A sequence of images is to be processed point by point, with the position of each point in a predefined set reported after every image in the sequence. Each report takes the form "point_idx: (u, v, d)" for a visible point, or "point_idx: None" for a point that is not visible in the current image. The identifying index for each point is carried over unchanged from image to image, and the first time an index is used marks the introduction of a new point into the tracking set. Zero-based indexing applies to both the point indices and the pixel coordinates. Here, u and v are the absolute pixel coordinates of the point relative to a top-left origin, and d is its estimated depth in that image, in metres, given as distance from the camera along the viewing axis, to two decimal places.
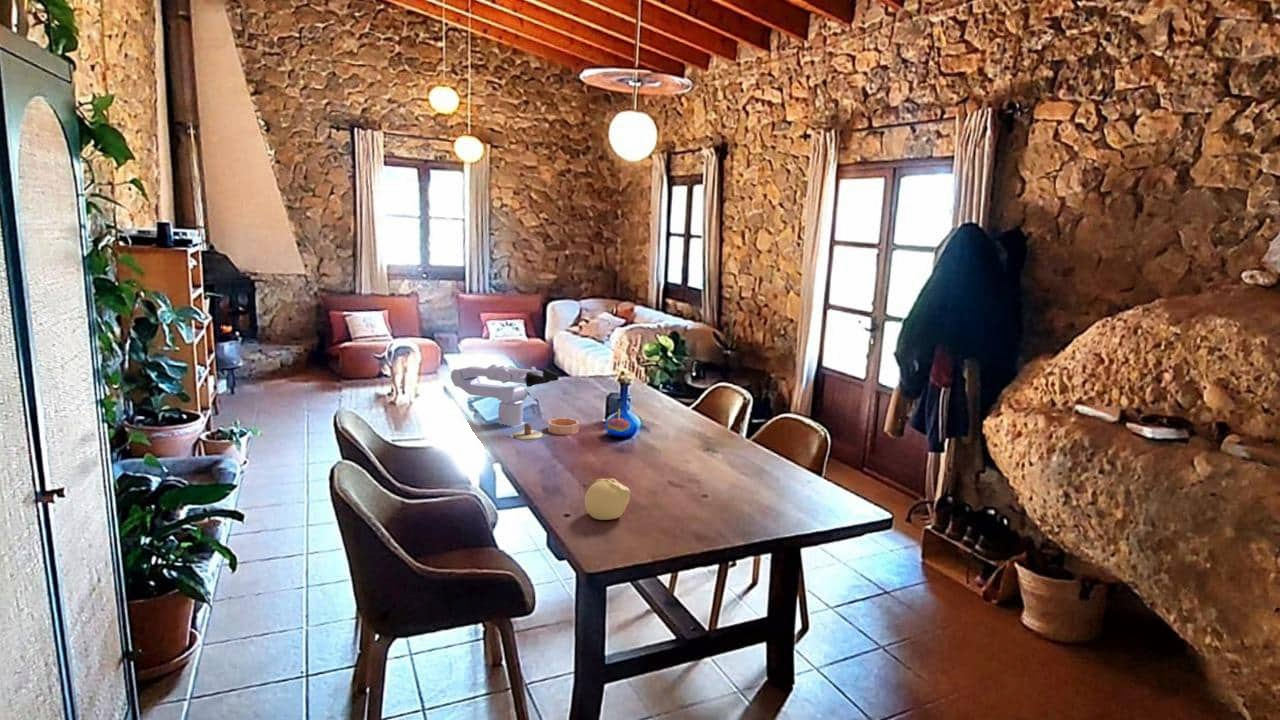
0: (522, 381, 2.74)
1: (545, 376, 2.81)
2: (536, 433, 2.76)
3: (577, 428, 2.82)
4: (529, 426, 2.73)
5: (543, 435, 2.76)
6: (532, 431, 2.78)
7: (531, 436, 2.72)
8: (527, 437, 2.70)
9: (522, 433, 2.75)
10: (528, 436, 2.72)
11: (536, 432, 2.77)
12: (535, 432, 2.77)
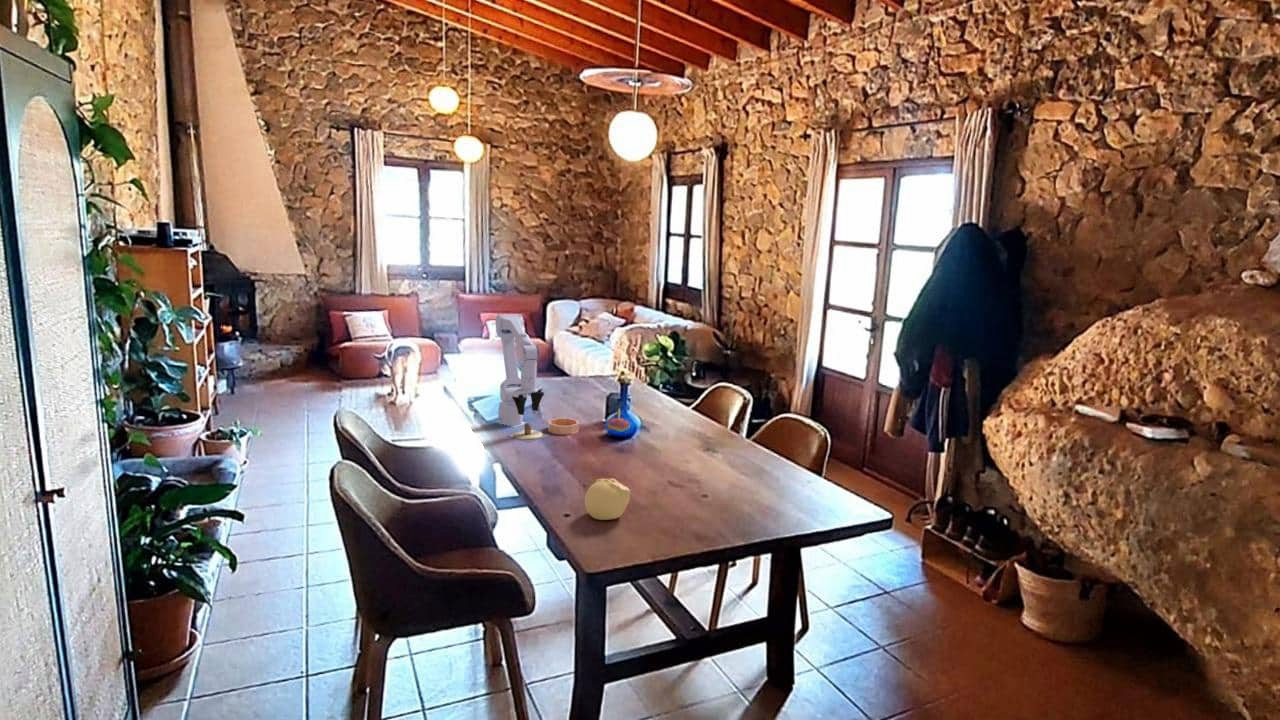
0: (513, 395, 2.66)
1: (534, 394, 2.75)
2: (536, 433, 2.76)
3: (577, 428, 2.82)
4: (529, 426, 2.73)
5: (543, 435, 2.76)
6: (532, 431, 2.78)
7: (531, 436, 2.72)
8: (527, 437, 2.70)
9: (522, 433, 2.75)
10: (528, 436, 2.72)
11: (536, 432, 2.77)
12: (535, 432, 2.77)
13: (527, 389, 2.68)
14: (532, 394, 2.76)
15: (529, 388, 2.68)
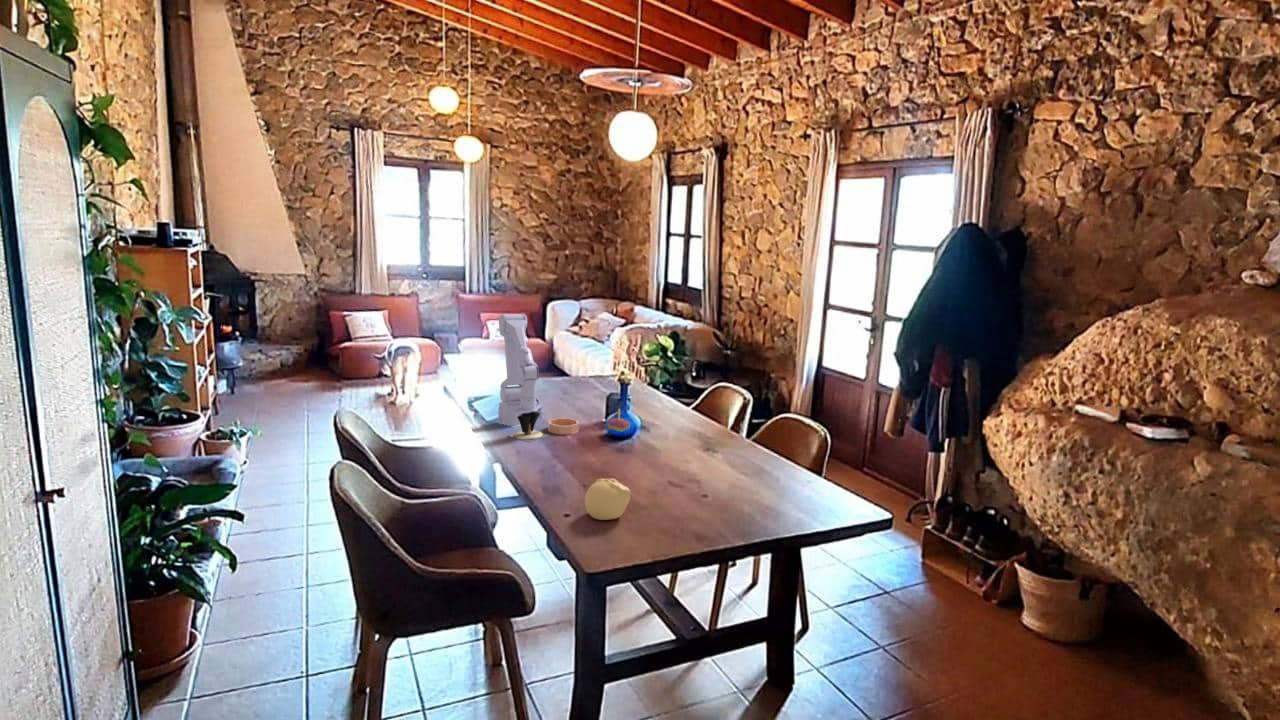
0: (513, 415, 2.67)
1: (530, 415, 2.74)
2: (536, 433, 2.76)
3: (577, 428, 2.82)
4: (529, 426, 2.73)
5: (543, 435, 2.76)
6: (532, 431, 2.78)
7: (531, 436, 2.72)
8: (527, 437, 2.70)
9: (522, 433, 2.75)
10: (528, 436, 2.72)
11: (536, 432, 2.77)
12: (535, 432, 2.77)
13: (527, 409, 2.70)
14: (527, 414, 2.75)
15: (529, 408, 2.70)
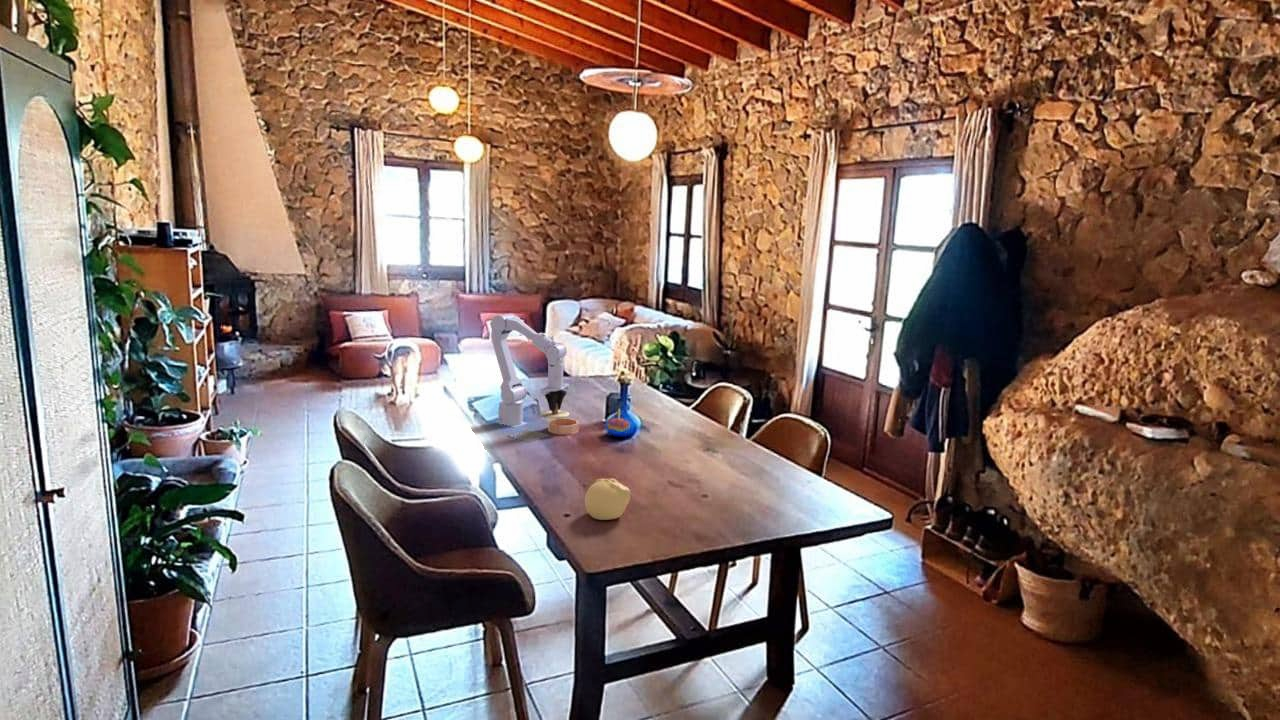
0: (541, 392, 2.73)
1: (557, 393, 2.80)
2: (563, 412, 2.82)
3: (577, 428, 2.82)
4: (556, 405, 2.79)
5: (543, 435, 2.76)
6: (558, 411, 2.84)
7: (559, 415, 2.78)
8: (555, 416, 2.76)
9: (549, 413, 2.80)
10: (556, 415, 2.77)
11: (562, 412, 2.83)
12: (561, 412, 2.83)
13: (554, 387, 2.75)
14: (555, 393, 2.81)
15: (556, 386, 2.75)
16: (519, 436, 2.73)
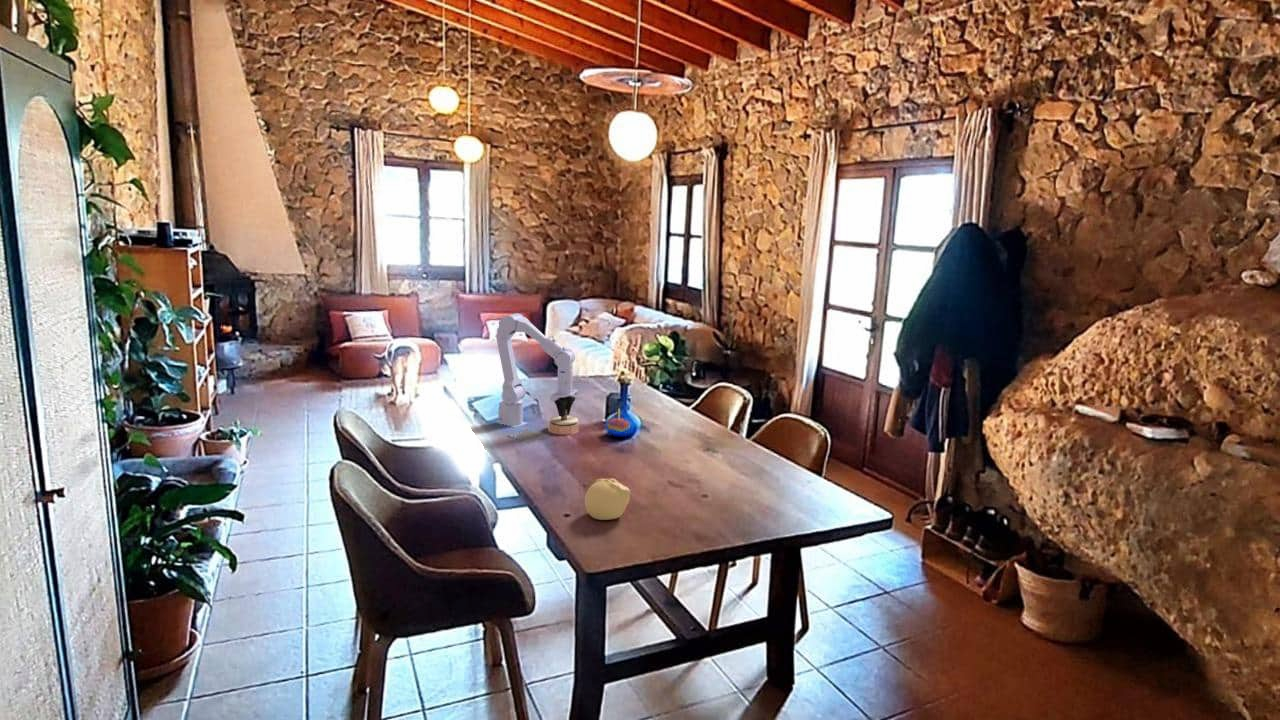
0: (551, 399, 2.76)
1: (566, 399, 2.83)
2: (572, 418, 2.85)
3: (577, 428, 2.82)
4: (566, 411, 2.82)
5: (543, 435, 2.76)
6: (567, 417, 2.87)
7: (568, 421, 2.81)
8: (565, 422, 2.79)
9: (558, 419, 2.84)
10: (566, 421, 2.80)
11: (571, 417, 2.86)
12: (570, 417, 2.86)
13: (564, 393, 2.78)
14: (564, 399, 2.84)
15: (565, 392, 2.79)
16: (519, 436, 2.73)
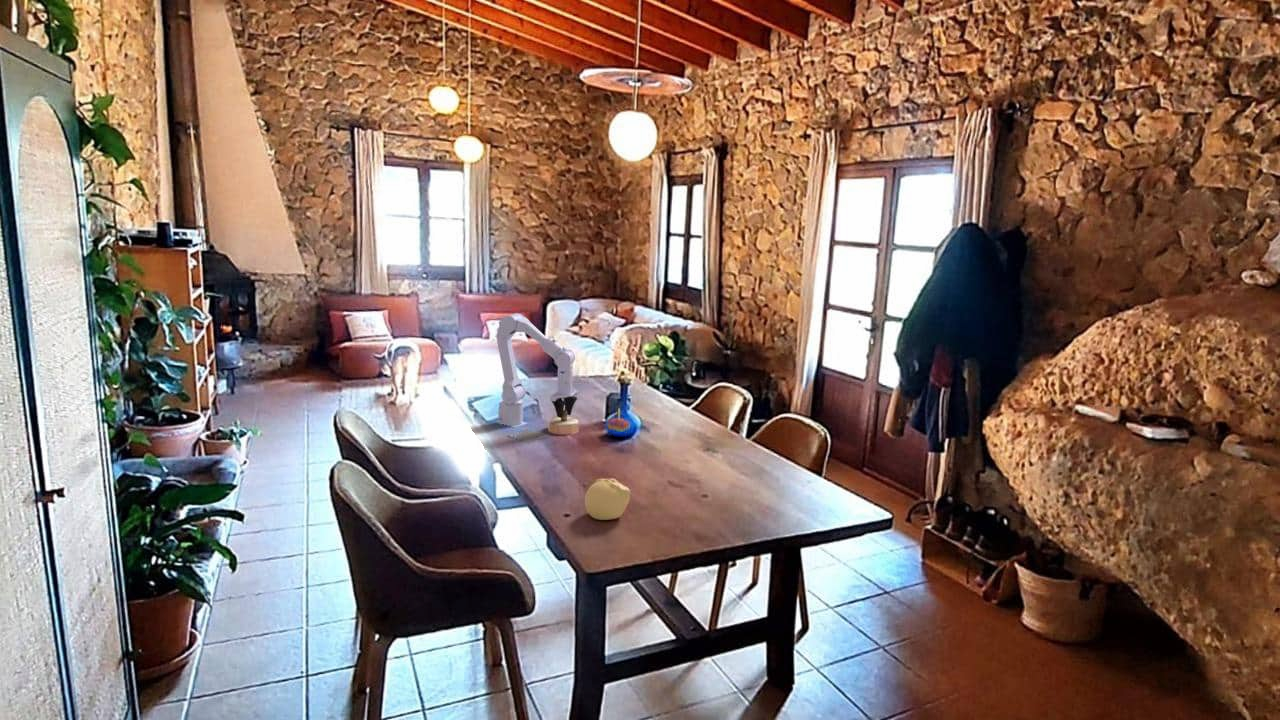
0: (551, 399, 2.76)
1: (568, 399, 2.84)
2: (572, 419, 2.85)
3: (577, 428, 2.82)
4: (566, 413, 2.82)
5: (543, 435, 2.76)
6: (567, 418, 2.87)
7: (568, 422, 2.81)
8: (565, 423, 2.79)
9: (558, 420, 2.84)
10: (565, 422, 2.81)
11: (571, 419, 2.86)
12: (570, 419, 2.86)
13: (563, 393, 2.79)
14: (565, 399, 2.85)
15: (565, 392, 2.79)
16: (519, 436, 2.73)
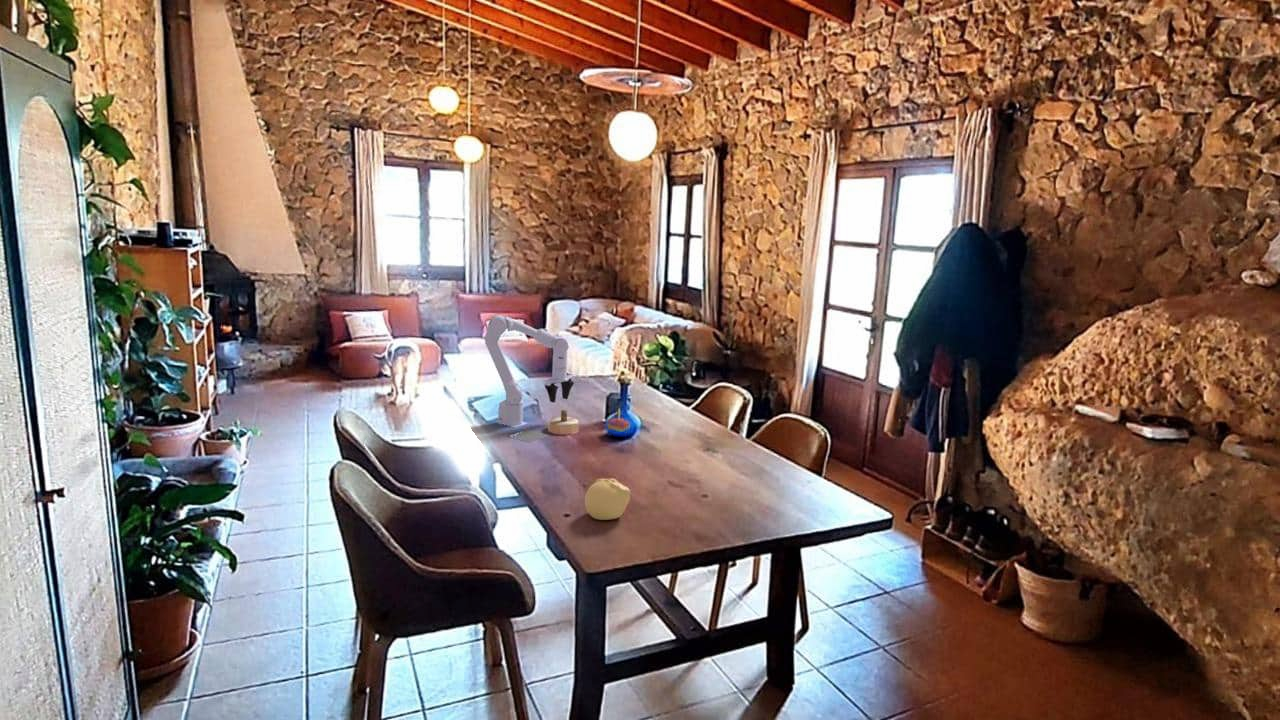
0: (546, 383, 2.84)
1: (565, 384, 2.93)
2: (572, 419, 2.85)
3: (577, 428, 2.82)
4: (566, 413, 2.82)
5: (543, 435, 2.76)
6: (567, 418, 2.87)
7: (568, 422, 2.81)
8: (565, 423, 2.79)
9: (558, 420, 2.84)
10: (565, 422, 2.81)
11: (571, 419, 2.86)
12: (570, 419, 2.86)
13: (558, 378, 2.86)
14: (562, 383, 2.94)
15: (560, 377, 2.86)
16: (519, 436, 2.73)
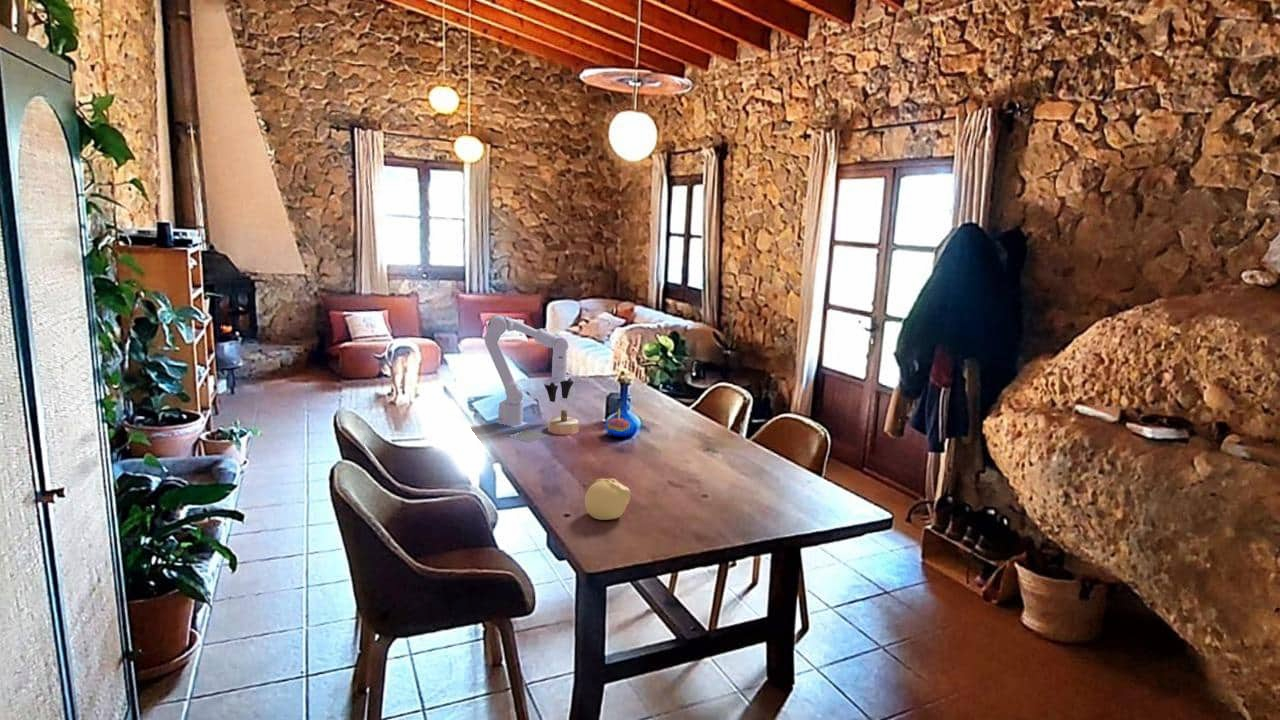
0: (546, 383, 2.85)
1: (564, 383, 2.94)
2: (572, 419, 2.85)
3: (577, 428, 2.82)
4: (566, 413, 2.82)
5: (543, 435, 2.76)
6: (567, 418, 2.87)
7: (568, 422, 2.81)
8: (565, 423, 2.79)
9: (558, 420, 2.84)
10: (565, 422, 2.81)
11: (571, 419, 2.86)
12: (570, 419, 2.86)
13: (558, 378, 2.87)
14: (562, 383, 2.94)
15: (560, 377, 2.87)
16: (519, 436, 2.73)
